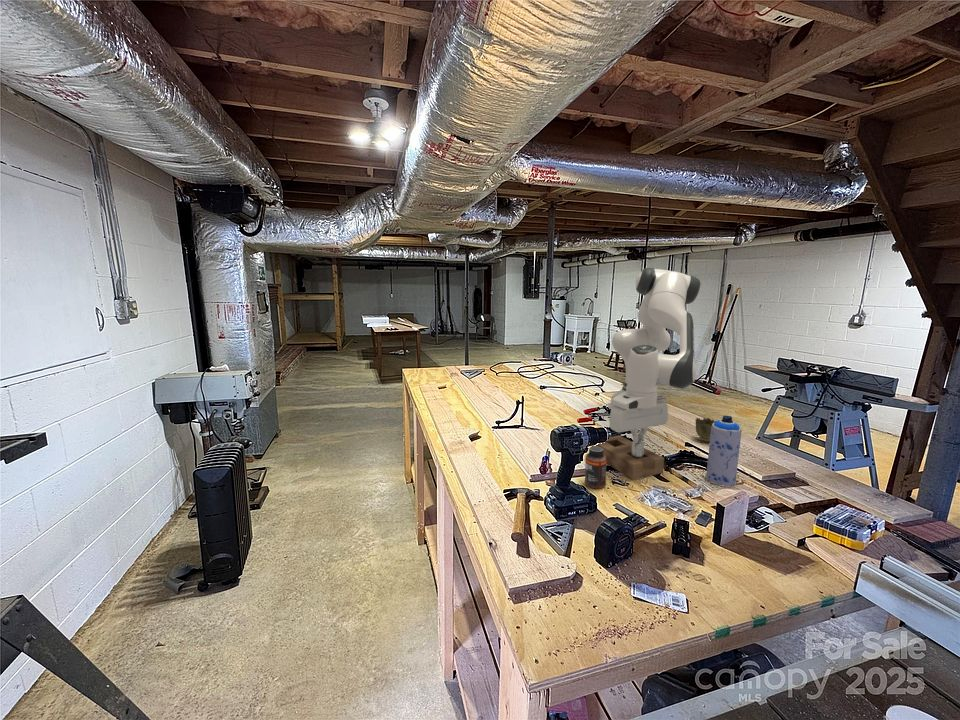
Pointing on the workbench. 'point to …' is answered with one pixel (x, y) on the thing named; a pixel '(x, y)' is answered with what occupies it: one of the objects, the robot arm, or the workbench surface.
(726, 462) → the aerosol can
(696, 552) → the workbench surface
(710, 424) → the cup
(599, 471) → the supplement bottle
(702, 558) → the workbench surface
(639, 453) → the peg
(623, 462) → the socket block
